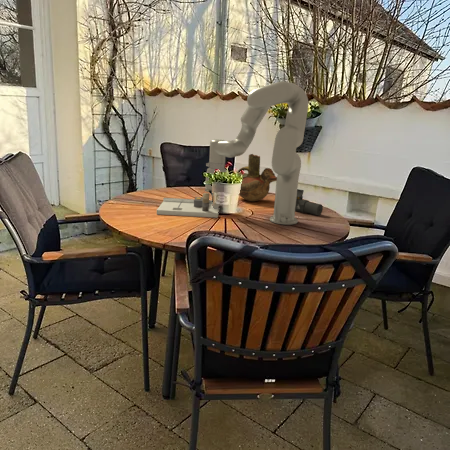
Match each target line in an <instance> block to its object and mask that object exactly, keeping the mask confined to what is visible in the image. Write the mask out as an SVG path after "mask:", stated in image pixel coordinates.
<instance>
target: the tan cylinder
mask: <svg viewBox="0 0 450 450" xmlns="http://www.w3.org/2000/svg"><path fill="white" fill-rule="evenodd" d="M202 197H203V202H202V211H209V200H210V193H209V192H204V193H202Z"/></svg>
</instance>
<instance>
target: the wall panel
mask: <svg viewBox="0 0 450 450" xmlns="http://www.w3.org/2000/svg"><path fill="white" fill-rule="evenodd" d="M194 199H195V198H194ZM194 199H193V198H179V197H178V198H176V197H175V198H174V197H163V201H162V202H161V204H160V205H159V206H158V208H156V215H161V216H163V215H164V216H165V215H166V216H182V217H197V218H198V217H199V218H200V217H201V218H218V217H219V213H218V212H220V209H219V210H218V209H214V208H213V206H212V204H213V202H212V199H209V211H202V207H194Z"/></svg>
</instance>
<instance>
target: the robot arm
mask: <svg viewBox="0 0 450 450" xmlns="http://www.w3.org/2000/svg"><path fill="white" fill-rule="evenodd" d="M246 100H247V102H246V103H247V105H248V106H247V107H246V109H244V112H243V113H242V115H241V117H240V123H241V128H240V130H239V133H238V135H237V136H236V138H235V139H233V140H227V141H226V140H224V139H215V138H214V139H211V140H210V142H209V159H208V160H209V161H208V162H206V163H205V166H206V167H208V168H207V169H206V173H214V171H215V169H219V170H220V171H221V172H225V171H226V172H227V169H226V158H228V159H229V158H235V157H240V156H242V155H243V154H244V153H245V152H246V151H247V150H248V148H249V147H250V146H251V144H252V142H253V139H254V138H255V136H256V132H257V128H258V127H259V125H260V123H262V120H263V119H264V117H266V114H267V113H268V111H269V110H270V108H271V107H272V106H276V105H279V104H287V105H288V109H287V113H286V119H285V123H284V126H282V128H280V129H279V130H278V131H277V133H276V134H275V135H276V136H275V138H274V143H273V149H272V157H271V167H272V168H271V169H272V171H273V173H274V174H275V175H277V176H276V177H277V181H275V182H276V183H275V195H274V196H275V197H274V205H273V215H272V216H270V217H269V221H270V222H271V223H273V224H274V223H275V224H279V225H283V226H284V225H286V226H292V225H296V224H297V223H298V221H299V220H298V218H297V217H295V216H296V215H295V214H296V211H295V207H296V197H297V189H299V177H300V172H301V167H302V160H301V157H300V155H299V154H298V153H297V148H298V147H300V146H301V145H302V144H303V141H304V138H305V137H304V135H305V131H306V130H305V129H306V124H307V116H308V113H309V112H308V111H309V98H308V95H307V93H306V91H304V89H303V88H302V87H301V86H299V85H297V84H295V83H294V82H291V81H290V82H289V81H286V80H285V81H282V80H280V81H277V82H273V83H270V84H267V85H264V86H261V87H257V88H254V89H251V91H250V92H249V93H248V95H247V99H246ZM208 180H209V178H207V177H206V176H205V182H206V181H208ZM204 185H205V186H204V187H205V188H204V192H205V193H209V195H211V197H212V199H211V200H212V202H213V193H212V186H211V185H206V184H204Z"/></svg>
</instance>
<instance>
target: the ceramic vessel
mask: <svg viewBox="0 0 450 450" xmlns="http://www.w3.org/2000/svg"><path fill="white" fill-rule="evenodd" d="M247 162H248V165H247V166H243V167H241V168H239V169H238V170H237V172H240V171H241V170H243V172H244V171H247V175H245V176H242V177H243V181H242V184H241V190H240V195H239V196H240V197H241V198H242V199H244V200H245V201H247V202H259V201H260V200H263V199H265V198H266V197H267V195H268V194H269V192H270V188H271V187H270V184H271V183H273V182H276V181H277V176H276V173H275V172H274V170H273V168H270V167H269V168H268V167H267V168H264V169H263V170H262V172H261V171H260V170H261V169H260V168H261V156H260V155H257V154H253V153H250V154H248V161H247ZM260 172H261V174H260Z"/></svg>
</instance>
